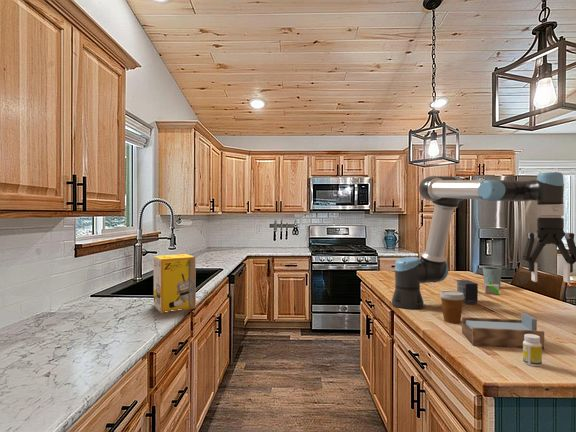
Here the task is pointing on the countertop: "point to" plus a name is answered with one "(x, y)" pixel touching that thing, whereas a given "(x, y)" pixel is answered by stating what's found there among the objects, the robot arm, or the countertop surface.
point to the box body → (497, 334)
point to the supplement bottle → (532, 350)
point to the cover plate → (507, 324)
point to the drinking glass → (492, 275)
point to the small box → (468, 291)
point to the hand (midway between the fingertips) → (550, 281)
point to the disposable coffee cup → (452, 306)
